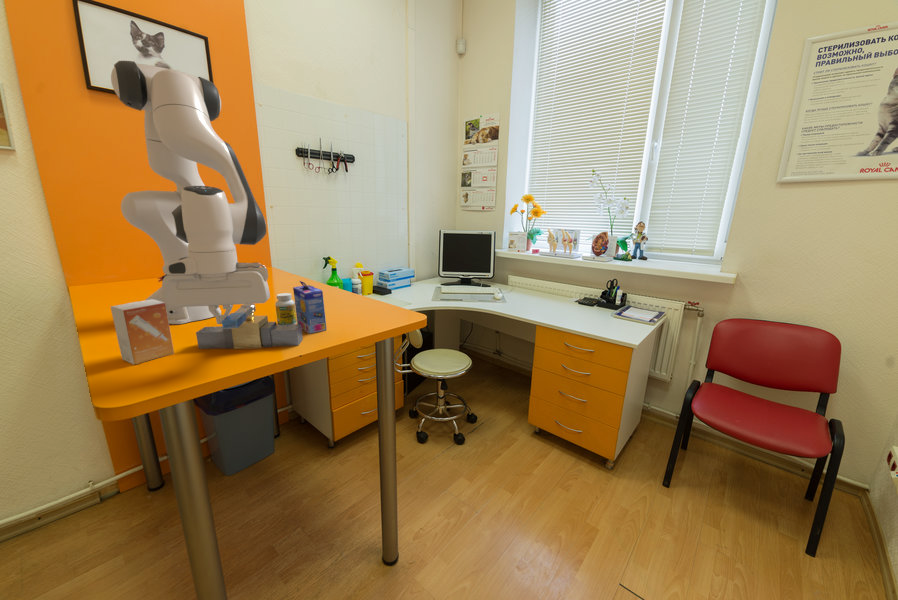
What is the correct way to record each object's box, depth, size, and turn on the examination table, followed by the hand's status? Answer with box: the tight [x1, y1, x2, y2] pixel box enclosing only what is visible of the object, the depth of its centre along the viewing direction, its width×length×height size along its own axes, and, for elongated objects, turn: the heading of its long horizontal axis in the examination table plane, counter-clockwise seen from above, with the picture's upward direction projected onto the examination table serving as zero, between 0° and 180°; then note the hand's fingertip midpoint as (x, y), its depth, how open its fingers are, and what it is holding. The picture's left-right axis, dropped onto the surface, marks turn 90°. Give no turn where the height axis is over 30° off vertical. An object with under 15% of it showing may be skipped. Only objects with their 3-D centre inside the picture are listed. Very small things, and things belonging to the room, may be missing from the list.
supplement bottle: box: [274, 292, 297, 325], centre depth 107 cm, size 5×5×10 cm
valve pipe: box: [195, 312, 304, 350], centre depth 92 cm, size 24×6×9 cm, turn 98°
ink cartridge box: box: [292, 280, 328, 334], centre depth 104 cm, size 10×6×14 cm, turn 43°
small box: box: [110, 299, 175, 366], centre depth 83 cm, size 8×6×13 cm
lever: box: [221, 303, 257, 329], centre depth 85 cm, size 15×3×2 cm, turn 13°
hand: (223, 323), depth 81 cm, fingers closed
